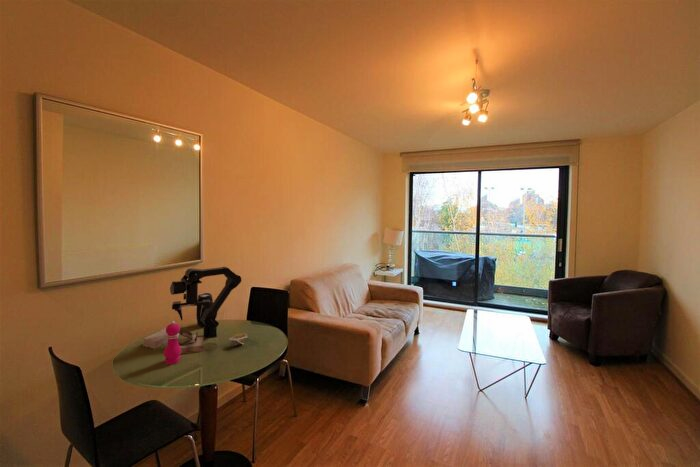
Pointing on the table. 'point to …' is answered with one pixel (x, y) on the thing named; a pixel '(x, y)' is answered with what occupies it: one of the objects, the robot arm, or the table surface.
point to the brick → (156, 339)
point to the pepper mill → (172, 344)
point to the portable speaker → (200, 299)
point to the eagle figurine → (190, 337)
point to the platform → (238, 339)
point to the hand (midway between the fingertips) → (191, 319)
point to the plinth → (192, 345)
